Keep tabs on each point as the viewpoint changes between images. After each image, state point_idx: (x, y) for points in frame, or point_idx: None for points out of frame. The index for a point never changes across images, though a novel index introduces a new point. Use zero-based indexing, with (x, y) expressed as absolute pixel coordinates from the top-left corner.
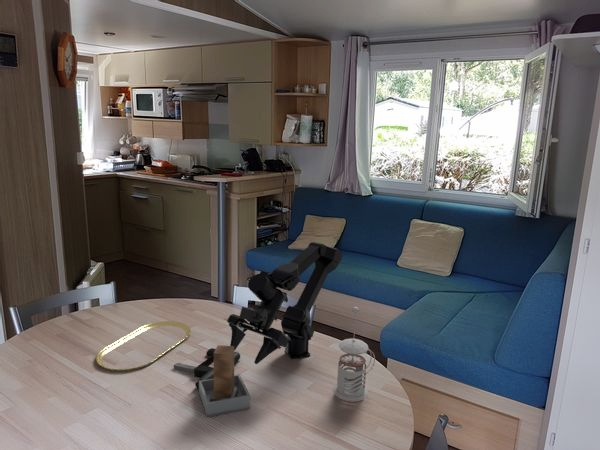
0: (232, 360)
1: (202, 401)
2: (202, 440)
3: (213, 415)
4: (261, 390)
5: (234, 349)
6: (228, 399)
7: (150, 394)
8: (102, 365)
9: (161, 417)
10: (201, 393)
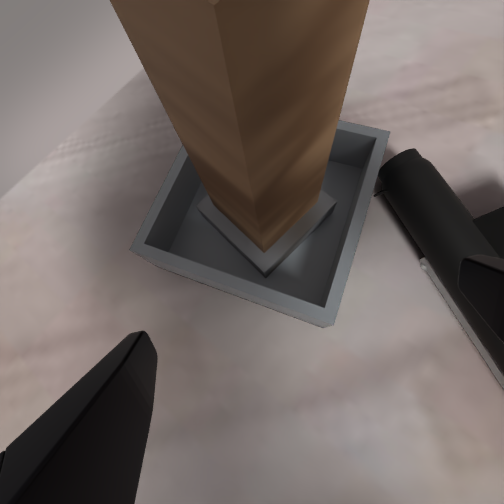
0: (187, 96)
1: None
2: (143, 85)
3: None
4: (223, 388)
5: (498, 323)
6: (176, 164)
7: (457, 46)
8: None
9: None
10: None
